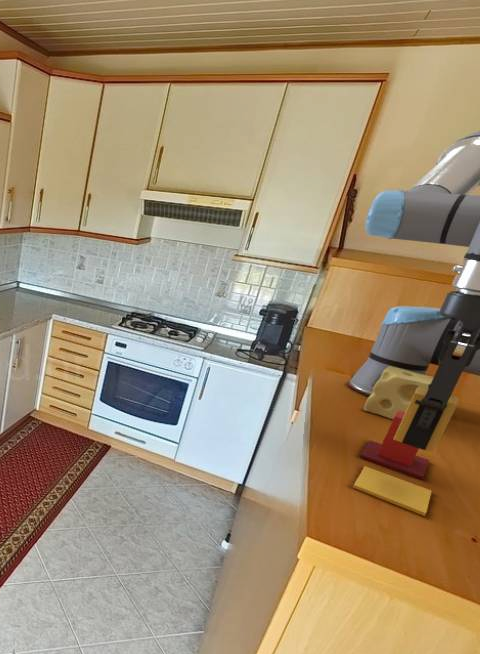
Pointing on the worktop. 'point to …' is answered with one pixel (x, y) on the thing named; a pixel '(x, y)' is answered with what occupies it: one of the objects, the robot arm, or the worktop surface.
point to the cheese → (395, 391)
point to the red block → (397, 444)
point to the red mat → (414, 470)
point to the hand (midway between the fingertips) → (415, 440)
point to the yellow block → (411, 413)
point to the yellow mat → (393, 490)
